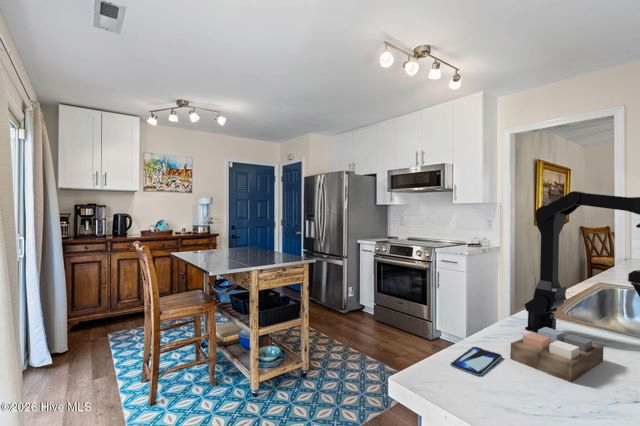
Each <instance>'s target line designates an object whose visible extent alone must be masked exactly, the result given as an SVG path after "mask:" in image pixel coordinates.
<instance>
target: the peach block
mask: <svg viewBox="0 0 640 426" xmlns="http://www.w3.org/2000/svg"><path fill="white" fill-rule="evenodd" d="M522 339H523V343H524V344H527V345H530V346H533V347H536V348H539V349H541V350H545V349H547V348H549V345H550V338H548V337H545V336H542V335H539V334H536V332H533V331H532V332H528V333H525V334H523V335H522Z"/></svg>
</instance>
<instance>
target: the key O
mask: <svg viewBox="0 0 640 426" xmlns="http://www.w3.org/2000/svg"><path fill="white" fill-rule="evenodd" d="M565 336H566V337H564V342H565V343H568V344H571V345H574V346H578V347H579V350H580V351H584V352H589V351H590V350H592V343H593V339H589V338H585V337H582V336H579V335H576V334H569V335H565Z"/></svg>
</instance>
